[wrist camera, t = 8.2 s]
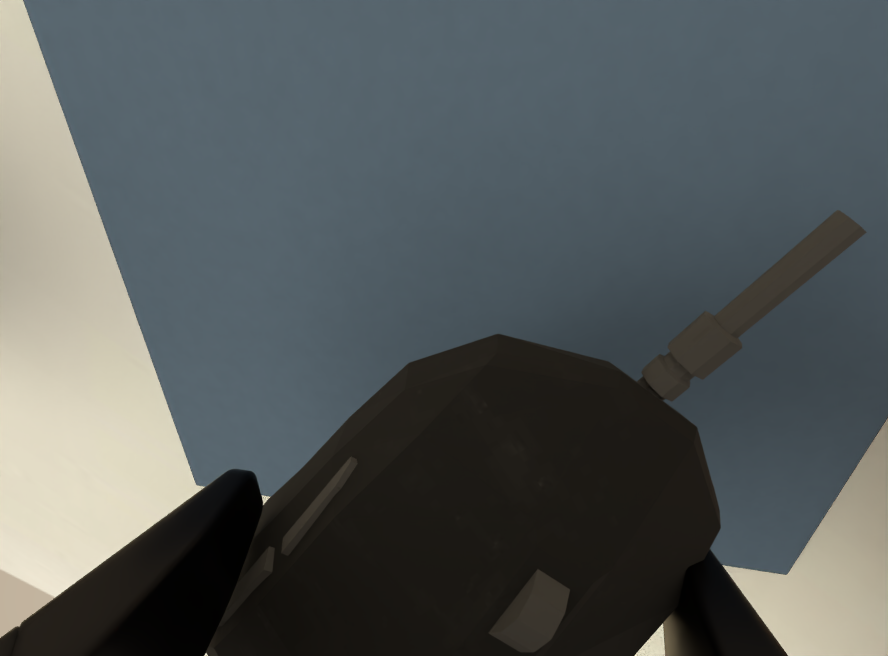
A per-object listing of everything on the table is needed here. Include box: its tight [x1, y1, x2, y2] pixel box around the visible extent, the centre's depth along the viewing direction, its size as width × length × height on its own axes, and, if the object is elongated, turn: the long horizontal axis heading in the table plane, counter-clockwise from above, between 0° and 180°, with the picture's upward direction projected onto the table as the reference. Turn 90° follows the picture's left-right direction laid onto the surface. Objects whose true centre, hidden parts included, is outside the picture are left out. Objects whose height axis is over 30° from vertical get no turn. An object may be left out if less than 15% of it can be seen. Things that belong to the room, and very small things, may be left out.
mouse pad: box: [23, 0, 888, 575], centre depth 14 cm, size 18×21×1 cm
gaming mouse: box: [206, 210, 867, 656], centre depth 9 cm, size 6×15×4 cm, turn 146°
